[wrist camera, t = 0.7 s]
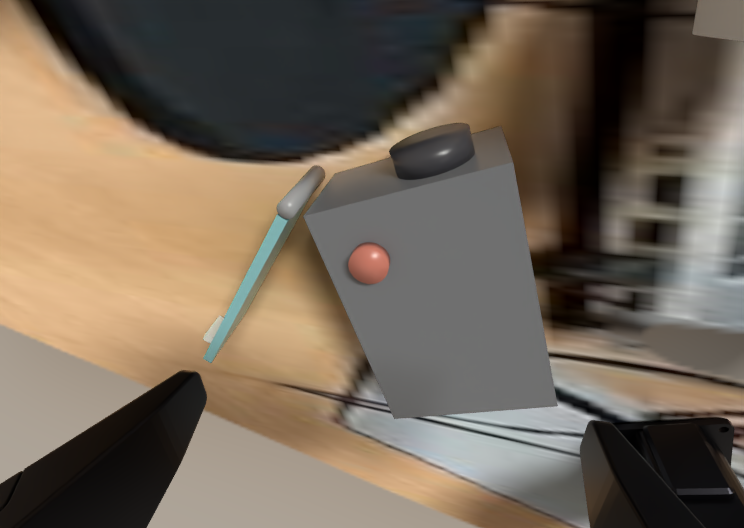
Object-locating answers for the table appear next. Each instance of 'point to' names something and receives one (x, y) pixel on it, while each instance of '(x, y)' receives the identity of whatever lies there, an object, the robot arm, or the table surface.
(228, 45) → the table surface
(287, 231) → the side door
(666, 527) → the robot arm
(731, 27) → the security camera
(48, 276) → the table surface
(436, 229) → the box
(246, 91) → the table surface
